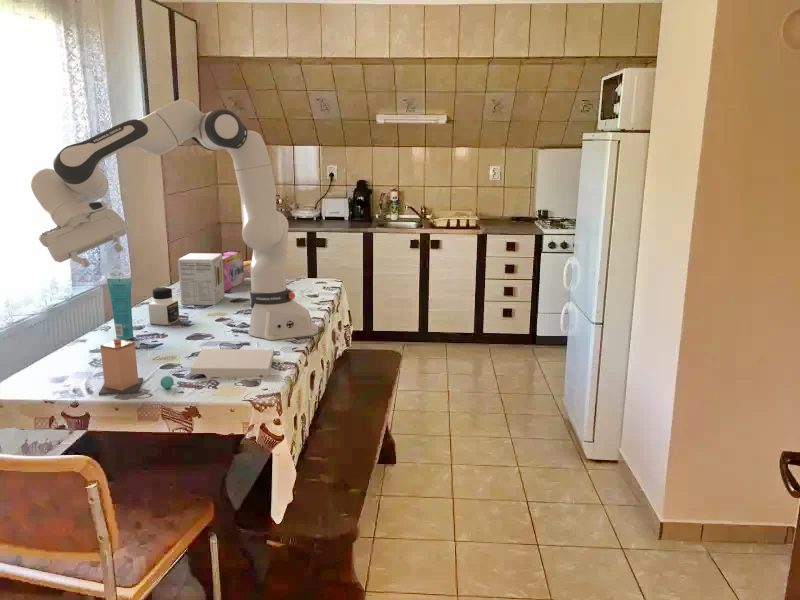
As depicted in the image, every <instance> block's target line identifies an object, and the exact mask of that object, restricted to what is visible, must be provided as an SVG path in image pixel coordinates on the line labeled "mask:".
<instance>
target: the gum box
mask: <svg viewBox="0 0 800 600" xmlns="http://www.w3.org/2000/svg"><path fill="white" fill-rule="evenodd" d="M218 254H222V263H223V280H224V292H227V291H228V290H231V289H232V288H234V287H236V286H238V285H240V284H242V283H244V282H245V266H244V265H245V264H244V251H243V250H232V249H231V250H227V249H226V250H224V251H221V252H219V253H218Z"/></svg>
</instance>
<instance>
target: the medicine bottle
mask: <svg viewBox="0 0 800 600" xmlns="http://www.w3.org/2000/svg"><path fill="white" fill-rule="evenodd" d="M172 290H173V289H172V288H171V287H168V286H158V287H155V288H153V290H152V298H153V301H151V302H149V303H148V305H147V306H148V318H149V323H150V325H159V326H170V325H172V324H173V323H176V322H178V321H180V311H179V310H180V308H179V301H178V299H173V291H172Z"/></svg>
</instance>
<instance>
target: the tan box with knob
mask: <svg viewBox="0 0 800 600" xmlns="http://www.w3.org/2000/svg"><path fill="white" fill-rule="evenodd" d="M99 347H100V354H101V362H102V364H101V365H102V372H103V385H104V384H105V387H107V388H112V389H117V390H124V389H126V388H128V387H131V386H133V385H135V384H137V383H139V382H138V378H139V373H138V364H137V363H138V362H137V353H136V343H135V341H131V340H121V339H120V338H114V339H113V340H112V341H108V342H106V343H103V344H100V345H99Z"/></svg>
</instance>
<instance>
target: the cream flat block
mask: <svg viewBox="0 0 800 600" xmlns="http://www.w3.org/2000/svg"><path fill="white" fill-rule="evenodd" d="M274 355H275V354H274V349H242V348H241V349H240V348H239V349H233V348H232V349H227V348H225V349H223V348H222V349H215V348H211V349H210V348H209V349H208V348H201V350H200V352H199V354H198V355H197V357H196V359H195V360H194V362H193V364H192V365H191V367H190V374H191V375H203V376H204V377H205V378H207V377H212V378H219V377H229V378H260V377H262V378H263V377H264V378H267V377H269V375H270V371H271V369H272V365H273V360H274Z"/></svg>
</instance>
